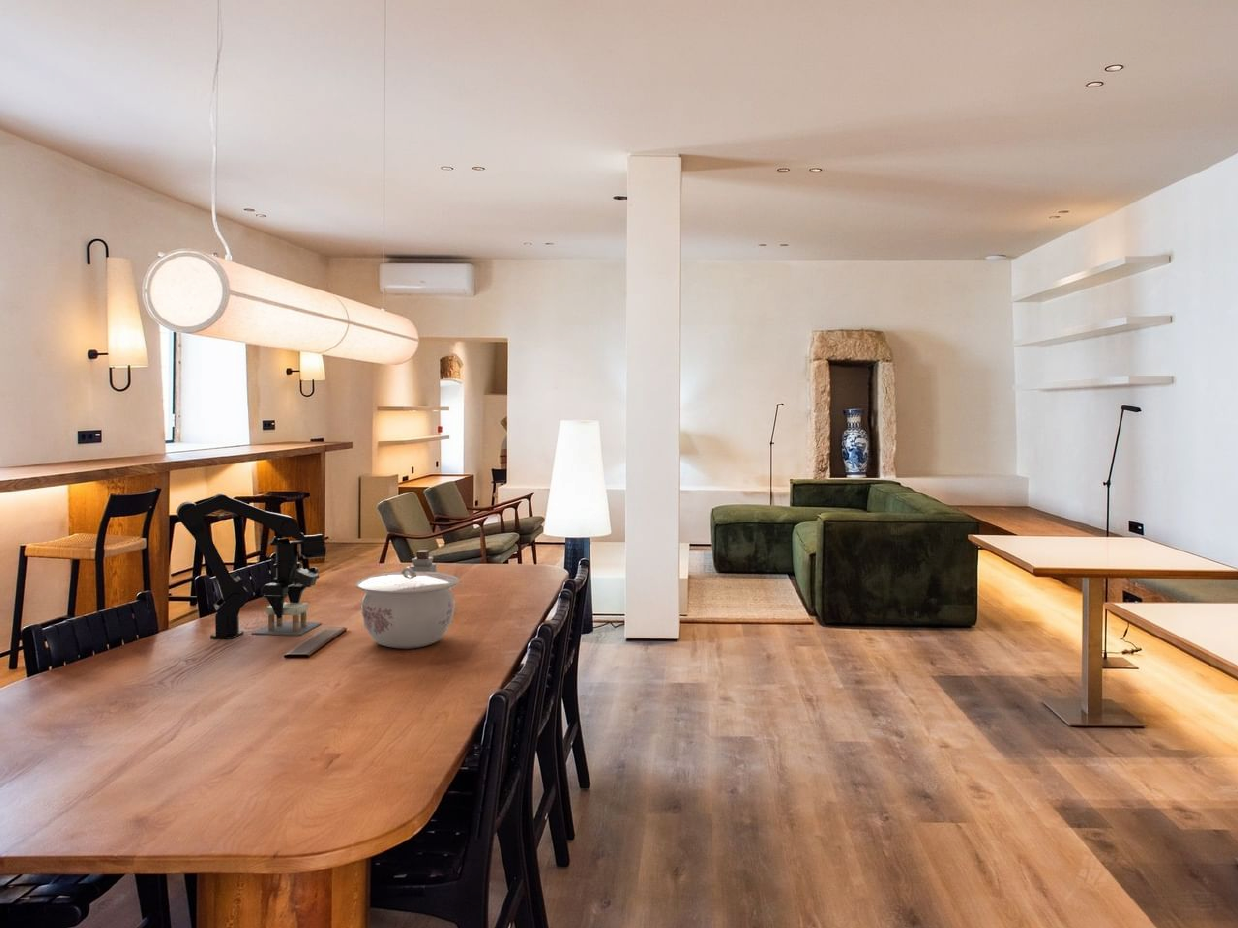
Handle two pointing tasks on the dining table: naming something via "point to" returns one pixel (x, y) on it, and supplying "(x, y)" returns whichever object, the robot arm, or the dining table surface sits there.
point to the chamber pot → (407, 607)
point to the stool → (289, 610)
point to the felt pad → (287, 629)
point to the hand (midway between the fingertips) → (287, 614)
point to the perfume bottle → (423, 562)
